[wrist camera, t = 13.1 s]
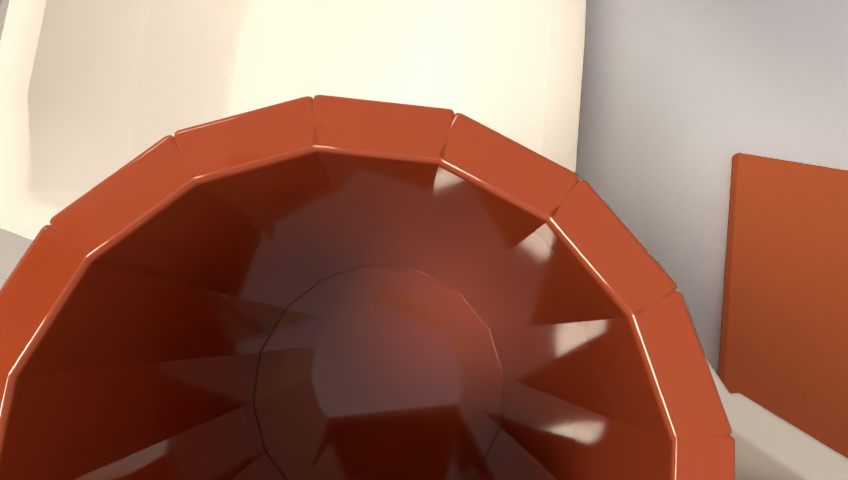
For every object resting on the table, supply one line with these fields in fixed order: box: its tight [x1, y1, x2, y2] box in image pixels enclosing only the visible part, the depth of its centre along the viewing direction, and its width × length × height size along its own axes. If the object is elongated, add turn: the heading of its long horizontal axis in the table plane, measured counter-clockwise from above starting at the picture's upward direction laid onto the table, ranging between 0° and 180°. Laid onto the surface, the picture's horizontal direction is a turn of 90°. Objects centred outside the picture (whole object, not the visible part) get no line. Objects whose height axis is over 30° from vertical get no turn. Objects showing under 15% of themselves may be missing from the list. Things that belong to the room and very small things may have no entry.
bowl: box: [0, 0, 586, 240], centre depth 27 cm, size 22×23×8 cm
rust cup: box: [0, 95, 735, 480], centre depth 10 cm, size 7×7×10 cm
